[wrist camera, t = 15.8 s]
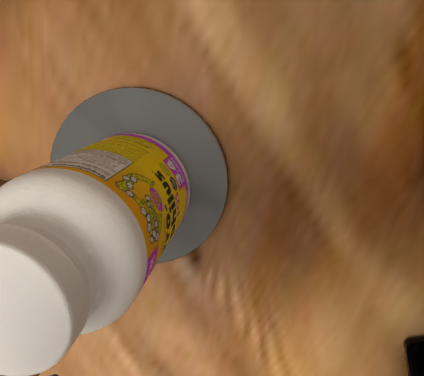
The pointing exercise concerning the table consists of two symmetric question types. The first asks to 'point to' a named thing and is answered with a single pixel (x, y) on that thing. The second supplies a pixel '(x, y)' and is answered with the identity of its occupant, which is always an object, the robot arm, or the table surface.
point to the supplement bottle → (82, 243)
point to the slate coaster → (166, 133)
